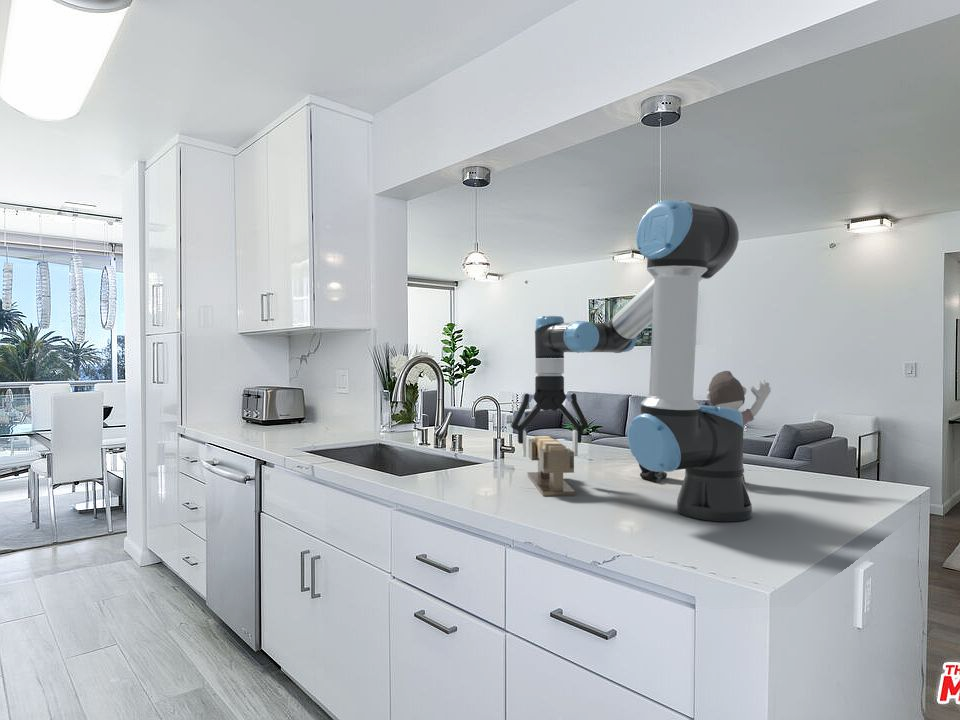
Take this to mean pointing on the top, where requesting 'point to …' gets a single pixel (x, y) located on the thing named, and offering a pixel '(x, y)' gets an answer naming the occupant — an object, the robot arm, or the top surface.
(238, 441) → the top surface
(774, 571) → the top surface
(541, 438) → the rail
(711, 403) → the figurine
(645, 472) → the figurine
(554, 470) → the bracket
